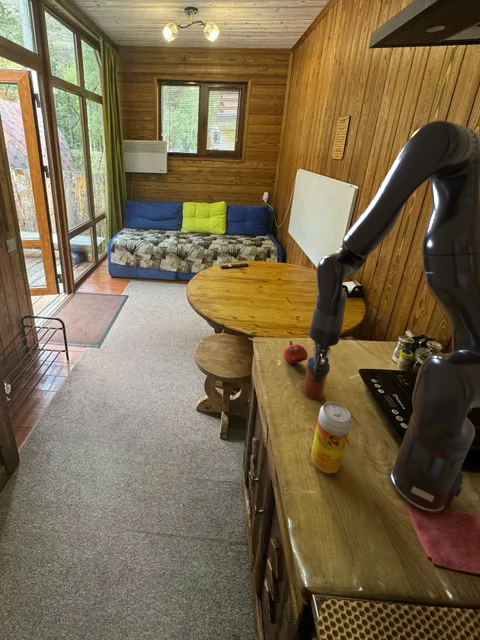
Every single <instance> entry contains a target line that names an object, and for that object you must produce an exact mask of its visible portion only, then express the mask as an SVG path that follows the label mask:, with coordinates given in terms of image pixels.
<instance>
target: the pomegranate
mask: <svg viewBox="0 0 480 640" xmlns="http://www.w3.org/2000/svg"><path fill="white" fill-rule="evenodd" d="M288 343H289V345H288V346H287V347H285V348H284V351H283V359H284V361H285V362H286V364H287V365H293V364H294V363H295V364H296V365H297V368H298V371H299V372H301V369H300V365H299V363H302V362H303V361H306V360H307V361H308V359H309V358H308V356H309V355H308V351H307V349H306V348H305V347H304V346H302V345H300V344H297V343H295V344H294V343H293V342H292V340H289V341H288Z"/></svg>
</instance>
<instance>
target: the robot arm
mask: <svg viewBox="0 0 480 640" xmlns="http://www.w3.org/2000/svg"><path fill="white" fill-rule="evenodd" d="M427 180H429V185H430V191H431V211H430V215H429V219H428V221H427V224H426V227H425V230H424V233H423V237H422V241H421V265H422V276H423V280H424V283H425V286H426V288H427V290H428V292H429V293H430V295H431V296H432V298H433V299H434V301H435V302H436V304H437V305H438V306H439V308H440V309H441V310H442V312H443V314H444V315H445V318H446V319H447V322H448V325H449V330H450V337H451V352H447V353H446V352H445V353H439V354H433V355H429V356H428V357H426V358H425V359H424V360H423V362H422V363H421V365H420V366H419V369H418V373H417V376H416V380H415V383H414V388H413V391H412V395H411V405H412V413H411V415H410V418H409V421H408V424H407V427H406V430H405V433H404V436H403V439H402V442H401V444H400V447H399V451H398V453H397V456H396V460H395V461H394V462H395V463H394V465H393V467H392V469H391V471H390V481H391V484H392V486H393V488H394V489H395V491H396V492H397V494H398V495H399V496H400V497H401V498H402V499H403V500H404V501H405V502H407V504H409V505H410V506H412V507H413V508H415V509H416V510H419V511H421V512H425V513H428V514H438V513H441V512H442V511H443V510H444V509H445V510H449V509H450V508H451V506H452V503H453V501H454V499H455V498H459V495H460V493H461V491H462V486H461V485H463V484H464V481H463V479H464V474H463V472H462V470H461V468H462V466H463V465H464V462H465V460H466V457H467V455H468V452H469V450H470V448H471V445H472V443H473V441H474V439H475V437H476V430H475V426H474V424H473V423H472V421H471V420H470V419H469V418H468V417H467V415H468V413H469V411H470V409H475V408H480V137H479V135H478V134H477V132H476V131H474V130H473V129H471V128H470V127H468V126H465V125H462V124H459V123H455V122H452V121H448V120H434V121H431V122H428V123H426V124H423V125H422V126H421V127H419V128H418V129H416V130H415V131H414V132H413V134H412V135H411V136H410V137H409V138H408V140H407V141H406V143H405V144H404V146H403V147H402V149H401V151H400V153H399V154H398V156H397V158H396V160H395V161H394V163H393V165H392V167H391V169H390V170H389V171H388V173H387V175H386V176H385V178H384V180H383V181H382V183H381V185H380V186H379V188H378V190H377V191H376V193H375V195H374V196H373V198H372V199H371V200H370V202H369V204H368V205H367V207H366V208H365V209H364V210H363V212H361V214H360V216H359V217H358V218H357V219H356V220H355V221H354V222H353V224H352V225H351V226H350V228H349V229H348V230H347V232H346V233H345V234H344V235H343V238H342V244H341V246H340V247H339V249H337V251H335V252H333V253H330V254H327V255H325V256H323V257H322V258H321V259H320V260H319V262H318V264H317V267H316V270H315V271H316V273H315V274H316V275H315V276H316V288H317V294H316V300H315V306H314V309H313V312H312V317H311V322H310V328H309V334H308V335H309V338H310V339H311V340H312V341H313V349H312V351H313V357H314V362H315V367H314V374H313V382H316V383H321V381H322V376H325V372H326V368H327V364H328V363H329V356H330V355H331V348H330V347H333V346H336V345H338V343H339V342H340V339H341V338H340V337H341V333H342V329H343V324H344V317H345V310H346V305H347V299H348V294H347V291H346V290H345V289H344V288H343V287H344V286H343V285H344V282H345V280H347V279H349V278H351V277H353V276H354V275H355V274H357V272H359V270H360V269H361V268H362V267H363V265H364V264H365V262H366V261H367V259H368V258H369V257H370V254H371V253H373V252H374V251H375V250H376V249H377V248H378V247H379V246H380V244H382V243H383V241H384V240H385V239H386V238H387V237H388V236H389V235H390V233H391V232H392V231H393V229H394V228H395V226H396V224H397V222H398V220H399V219H400V215H401V213H402V212H403V209H404V207H405V205H406V204H407V202H408V200H409V199H410V198H411V197H412V195H413V194H414V193H415V192H416V190H418V188H419V187H421V186H422V185H423V184H424V183H425V182H426V181H427ZM316 357H317V359H316Z"/></svg>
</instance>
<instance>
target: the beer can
mask: <svg viewBox="0 0 480 640" xmlns="http://www.w3.org/2000/svg"><path fill="white" fill-rule="evenodd" d="M351 424H352V418H351V413H350V411H349V410H348V409H347V408H346V407H345V406H344V405H342V404H341V403H339V402H336V401H327V402H325V403H324V404H323V405H322V406H321V407H320V409H319V414H318V418H317V423H316V428H315V433H314V437H313V442H312V447H311V451H310V459H311V461H312V462H313V464H314V466H315V467H316V468H317V469H318V470H320V471H322V473H325V474H333V473H337V472H338V471H339V470H340V467H341V463H342V459H343V455H344V451H345V447H346V443H347V440H348V436H349V431H350V429H351Z"/></svg>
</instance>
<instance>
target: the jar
mask: <svg viewBox="0 0 480 640" xmlns="http://www.w3.org/2000/svg"><path fill="white" fill-rule="evenodd" d="M327 378H328V374H327V375H325V376H322V381H321V383H316V382H313V373H311V372H310V371H309V370H308V369H307V368H306V373H305V379H304V384H303V392H304V394H305V395H306V397H308V398H310V399H313V400H321V399H323V397H324V392H325V387H326V382H327Z"/></svg>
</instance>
